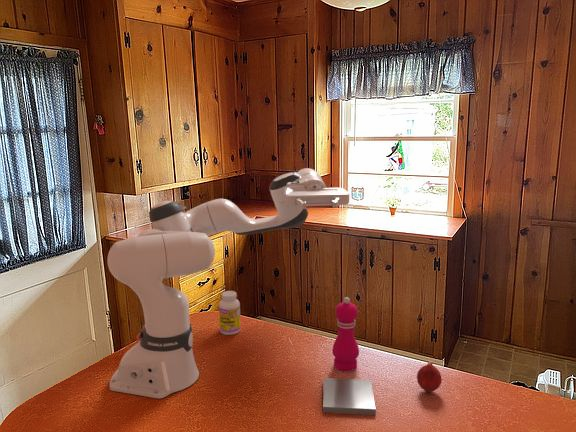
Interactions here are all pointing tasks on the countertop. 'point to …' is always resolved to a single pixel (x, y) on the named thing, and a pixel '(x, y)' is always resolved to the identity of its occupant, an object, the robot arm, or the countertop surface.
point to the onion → (429, 377)
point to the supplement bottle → (229, 313)
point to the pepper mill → (345, 337)
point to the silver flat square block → (348, 396)
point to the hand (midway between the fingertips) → (319, 205)
